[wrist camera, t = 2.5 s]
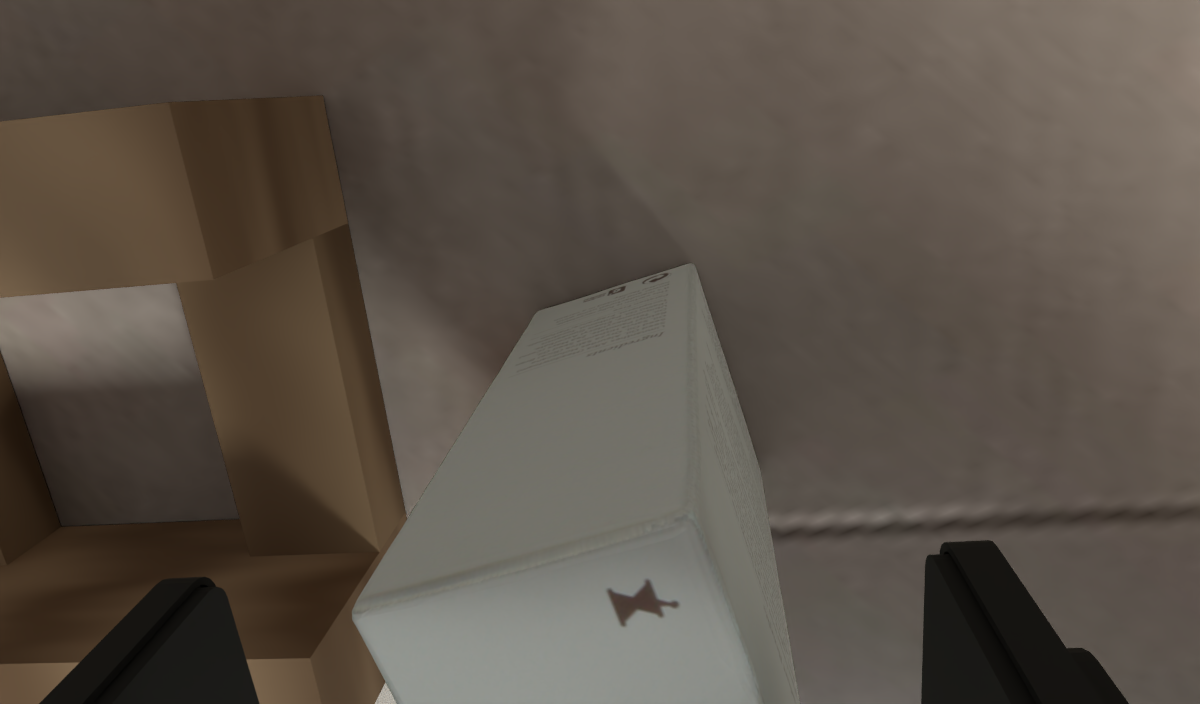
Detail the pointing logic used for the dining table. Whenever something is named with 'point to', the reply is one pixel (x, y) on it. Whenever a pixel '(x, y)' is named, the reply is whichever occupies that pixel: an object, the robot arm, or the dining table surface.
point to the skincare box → (592, 526)
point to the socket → (207, 386)
